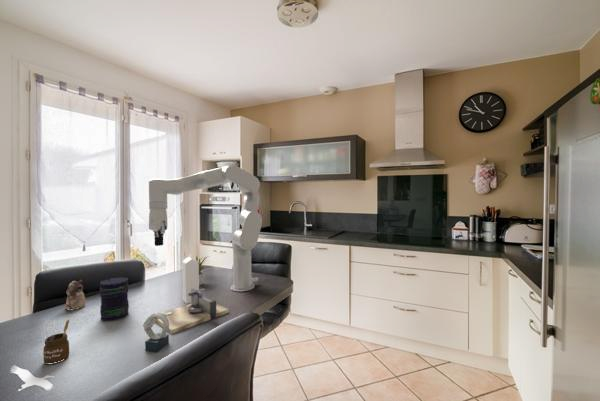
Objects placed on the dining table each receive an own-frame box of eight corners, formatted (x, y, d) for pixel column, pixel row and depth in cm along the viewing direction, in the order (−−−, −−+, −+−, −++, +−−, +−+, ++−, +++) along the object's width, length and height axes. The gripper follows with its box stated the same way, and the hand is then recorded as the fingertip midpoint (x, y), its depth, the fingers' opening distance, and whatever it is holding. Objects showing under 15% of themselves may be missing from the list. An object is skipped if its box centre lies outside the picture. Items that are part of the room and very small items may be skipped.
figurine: (63, 307, 124) (63, 281, 124) (83, 303, 129) (83, 277, 129) (66, 312, 119) (65, 284, 119) (86, 307, 125) (86, 280, 124)
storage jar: (134, 312, 118) (133, 278, 118) (112, 323, 109) (111, 285, 109) (117, 309, 122) (116, 276, 121) (94, 319, 112) (93, 282, 112)
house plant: (201, 278, 167) (201, 251, 166) (216, 282, 159) (216, 254, 158) (179, 284, 155) (179, 255, 155) (194, 289, 147) (193, 259, 147)
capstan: (183, 309, 117) (183, 291, 117) (201, 303, 123) (201, 286, 123) (205, 322, 106) (205, 302, 105) (223, 315, 112) (223, 296, 111)
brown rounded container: (51, 355, 87) (50, 317, 87) (74, 352, 89) (73, 315, 88) (38, 366, 81) (37, 326, 81) (63, 363, 83) (62, 324, 83)
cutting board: (206, 301, 130) (206, 296, 130) (228, 312, 118) (228, 307, 118) (151, 319, 112) (151, 313, 112) (171, 334, 100) (171, 327, 100)
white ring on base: (153, 341, 95) (152, 309, 95) (173, 344, 93) (172, 312, 93) (140, 350, 90) (139, 316, 90) (161, 353, 88) (160, 319, 88)
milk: (186, 304, 128) (185, 256, 127) (182, 300, 132) (181, 254, 132) (199, 301, 131) (198, 254, 130) (195, 297, 136) (194, 252, 135)
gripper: (143, 205, 130) (144, 244, 130) (156, 206, 120) (157, 248, 120) (160, 205, 135) (160, 242, 136) (173, 205, 126) (174, 246, 126)
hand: (159, 245), depth 128 cm, fingers closed
